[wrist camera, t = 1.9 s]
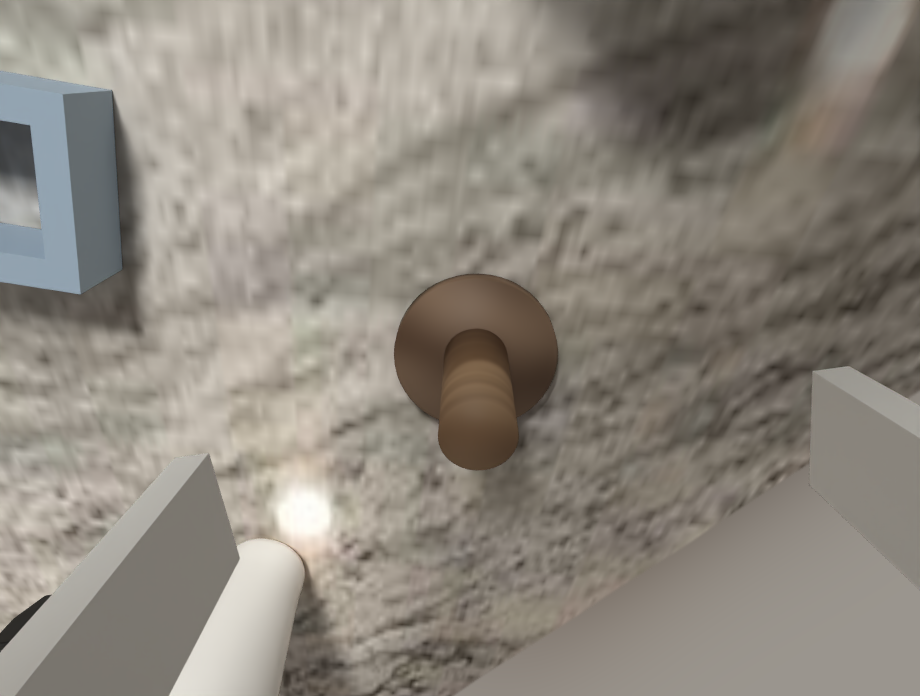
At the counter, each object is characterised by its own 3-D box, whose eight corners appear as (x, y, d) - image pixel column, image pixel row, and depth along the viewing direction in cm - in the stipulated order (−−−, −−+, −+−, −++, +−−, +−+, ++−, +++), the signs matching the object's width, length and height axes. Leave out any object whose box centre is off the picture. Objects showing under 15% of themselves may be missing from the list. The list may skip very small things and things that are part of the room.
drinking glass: (209, 523, 41) (80, 756, 27) (313, 525, 41) (236, 759, 27) (224, 601, 43) (113, 847, 30) (321, 603, 43) (255, 850, 30)
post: (407, 261, 33) (387, 326, 25) (572, 288, 34) (606, 360, 26) (387, 406, 37) (364, 504, 29) (536, 429, 37) (556, 531, 29)
